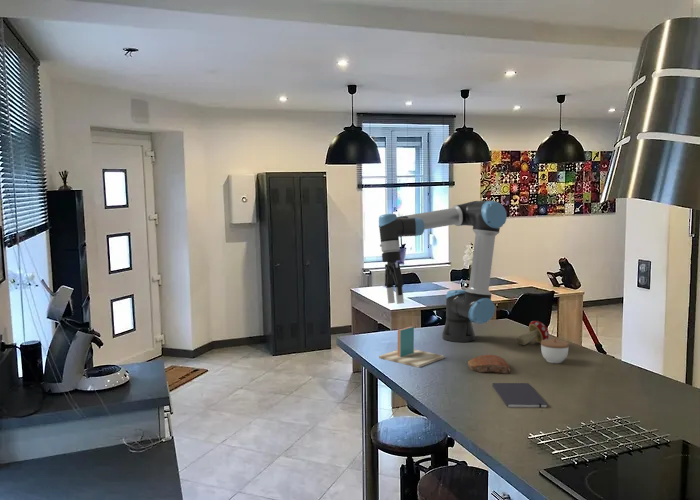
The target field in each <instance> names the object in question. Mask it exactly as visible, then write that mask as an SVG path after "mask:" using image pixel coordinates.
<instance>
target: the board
mask: <svg viewBox="0 0 700 500" xmlns="http://www.w3.org/2000/svg"><path fill="white" fill-rule="evenodd" d="M444 358H445V355H443V354H438V353H434V352H433V353H432V352H429V351H426V350H425V351H424V350H418V349H415V348H414V353H411V354H408V355H405V356H402V357H399V356H398V349H396V350H394V351H390V352H385V353H383V354H381V355H378V359H380V360H385V361H389V362H393V363H398V364H401V365H402V364H403V365H405V366H406V365H408V366H411V367H415V368H421V367H423V366H427V365H429V364H432V363H434V362H437V361H440V360H443V359H444Z"/></svg>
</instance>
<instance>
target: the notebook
mask: <svg viewBox="0 0 700 500" xmlns="http://www.w3.org/2000/svg"><path fill="white" fill-rule="evenodd" d="M492 387H493V389H494V390H495V392H496V393H497V394H498V396H499V398H500V399H501V400H502V402H503V403H504V404H505V406H506V407H507V408H547V406H548V403H547V401H546V400H545V399H544V398H543V397H542V396H541V395H540V394H539V393H538V392H537V391H536V389H535V388H533V386H532V385H531V384H530V383H528V382H492Z"/></svg>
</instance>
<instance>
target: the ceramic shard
mask: <svg viewBox="0 0 700 500" xmlns="http://www.w3.org/2000/svg"><path fill="white" fill-rule="evenodd" d="M467 364H468V368H469V369H470V370H471V371H474V372H478V373H498V374H499V373H500V374H510V372H511V369H510V365H509V364H508V362H507V361H506V360H505V358H503V357H501V356H498V355H495V354H483V355H479V356H476V357H474V358H471V359H469V360H468V362H467Z"/></svg>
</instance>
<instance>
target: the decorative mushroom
mask: <svg viewBox="0 0 700 500" xmlns="http://www.w3.org/2000/svg"><path fill="white" fill-rule="evenodd" d="M528 331H529V332H527V333H525V334H521V335H520V336H518V337H517V342H518V344H520V346H526V345H528V344H529V343H530V342H531V341H533V340H534V341H535V342H537V343H538V344H540V345H541V341H542V340H546V339H549V335H550V333H549V329H548V328H547V326H546V325H545V324H544V323H543V322H541V321H539V320H532V321H530V322H529V325H528Z"/></svg>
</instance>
